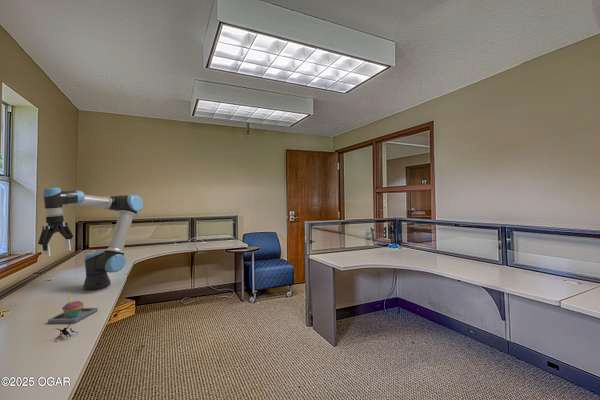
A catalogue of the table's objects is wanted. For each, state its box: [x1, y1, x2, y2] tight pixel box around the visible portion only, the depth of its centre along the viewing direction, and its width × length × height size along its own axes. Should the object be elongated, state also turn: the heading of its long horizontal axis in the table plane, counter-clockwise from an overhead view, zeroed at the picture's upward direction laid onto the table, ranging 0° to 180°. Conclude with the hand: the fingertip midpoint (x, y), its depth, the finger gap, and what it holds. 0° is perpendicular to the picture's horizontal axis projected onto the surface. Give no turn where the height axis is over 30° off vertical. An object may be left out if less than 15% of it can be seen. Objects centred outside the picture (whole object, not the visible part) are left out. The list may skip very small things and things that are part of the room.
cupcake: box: [62, 293, 85, 318], centre depth 147 cm, size 9×8×12 cm
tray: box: [47, 307, 99, 324], centre depth 147 cm, size 14×14×2 cm
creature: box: [55, 324, 79, 343], centre depth 126 cm, size 8×5×8 cm
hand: (58, 253), depth 163 cm, fingers open, 13 cm apart
